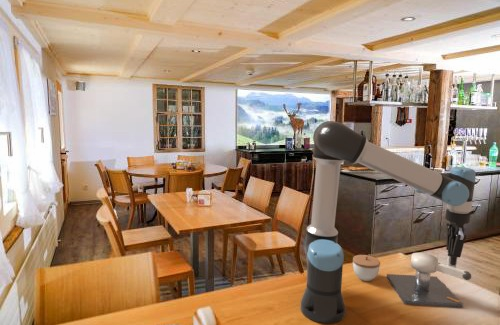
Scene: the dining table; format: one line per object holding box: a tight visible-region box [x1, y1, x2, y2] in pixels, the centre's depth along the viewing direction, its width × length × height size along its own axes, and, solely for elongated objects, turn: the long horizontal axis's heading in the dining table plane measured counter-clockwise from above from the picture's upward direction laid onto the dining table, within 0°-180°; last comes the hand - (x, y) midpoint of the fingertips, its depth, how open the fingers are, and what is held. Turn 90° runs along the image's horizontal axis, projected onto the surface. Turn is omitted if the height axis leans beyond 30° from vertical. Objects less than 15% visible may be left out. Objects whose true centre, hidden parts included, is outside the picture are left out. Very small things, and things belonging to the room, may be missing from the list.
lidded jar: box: [352, 254, 381, 282], centre depth 140 cm, size 11×11×9 cm
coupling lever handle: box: [410, 252, 472, 281], centre depth 124 cm, size 20×9×4 cm, turn 44°
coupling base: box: [386, 270, 464, 308], centre depth 129 cm, size 20×20×10 cm
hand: (450, 271), depth 124 cm, fingers closed
